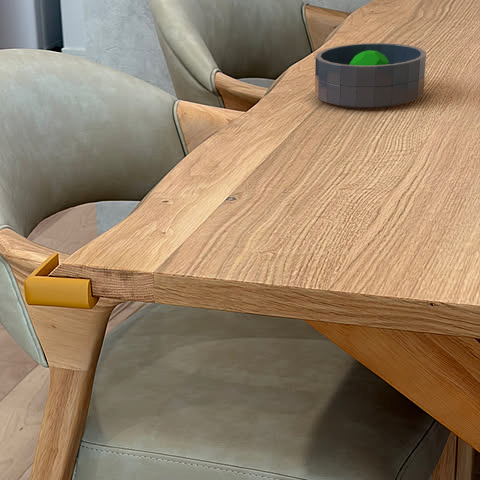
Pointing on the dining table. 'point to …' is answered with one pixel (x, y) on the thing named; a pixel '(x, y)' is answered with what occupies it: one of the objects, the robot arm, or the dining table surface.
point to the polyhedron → (369, 58)
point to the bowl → (370, 76)
